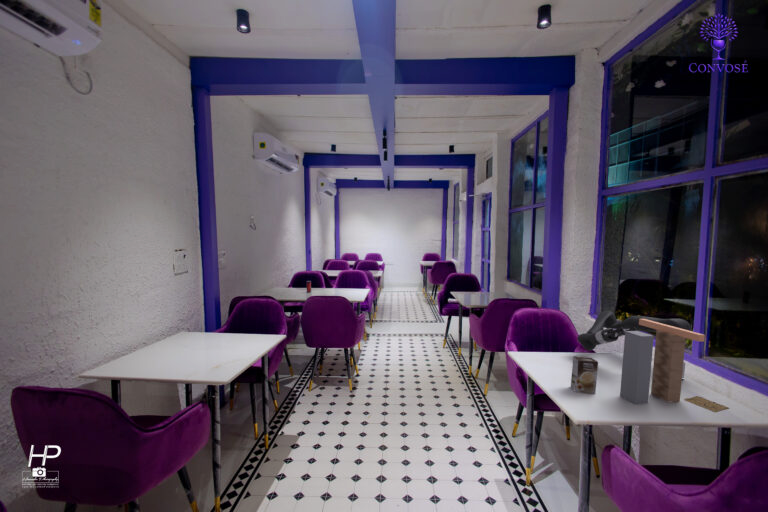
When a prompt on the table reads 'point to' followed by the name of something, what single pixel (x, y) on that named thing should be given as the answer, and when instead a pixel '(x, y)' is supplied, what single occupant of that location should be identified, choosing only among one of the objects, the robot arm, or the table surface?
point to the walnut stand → (668, 366)
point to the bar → (672, 330)
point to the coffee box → (584, 374)
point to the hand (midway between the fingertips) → (629, 329)
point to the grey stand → (636, 367)
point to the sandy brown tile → (706, 404)
